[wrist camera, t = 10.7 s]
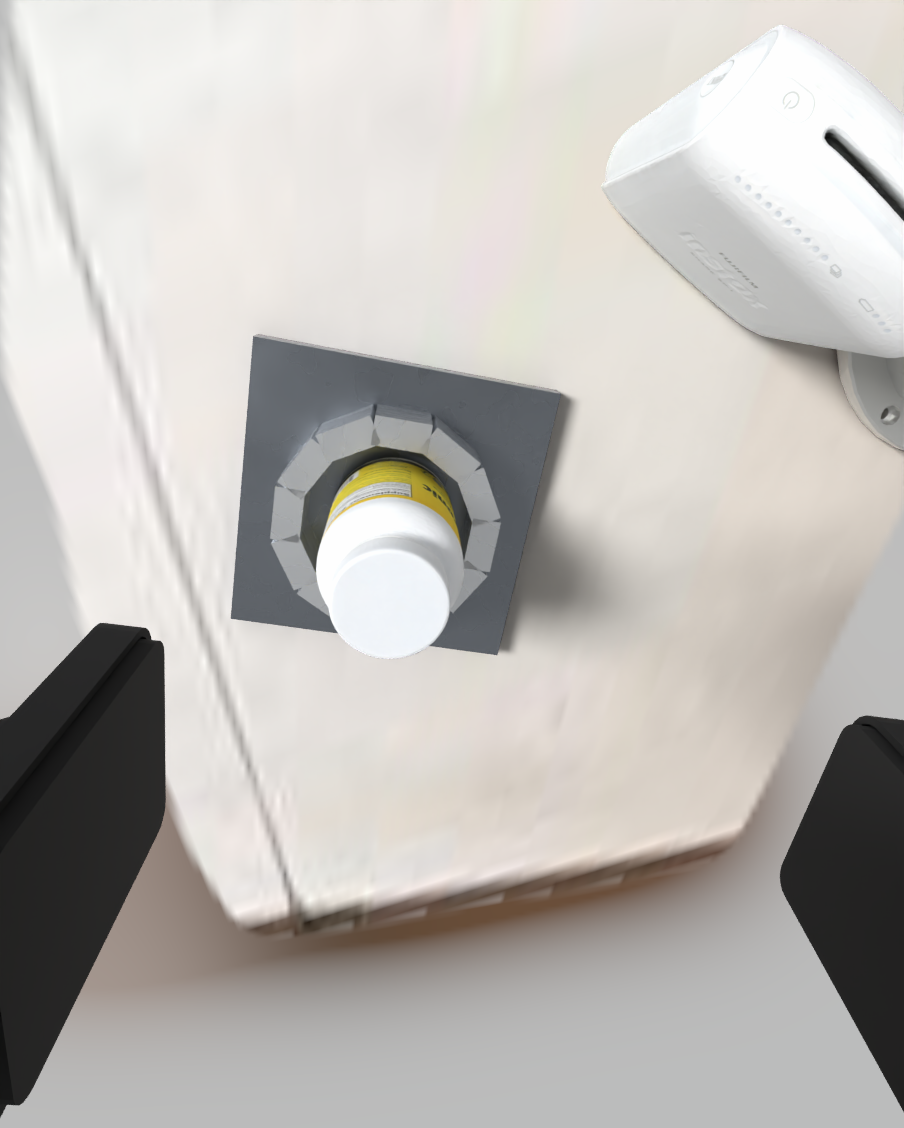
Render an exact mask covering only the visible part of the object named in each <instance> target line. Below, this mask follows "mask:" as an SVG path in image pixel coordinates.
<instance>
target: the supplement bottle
mask: <svg viewBox="0 0 904 1128" xmlns="http://www.w3.org/2000/svg"><path fill="white" fill-rule="evenodd" d="M316 575H317V582H318V586H319V590H320V592H321V595H322V597H323V599H324V601H325V603H326V605H327V606H328V608H329V613H330V618H331V621H332V623H333V625H334V627H335V629H336V631H337V632H338V634H339V635H340V636H341V637H342V638H343V640H344V641H345V642H346V643H348V644H349V645H350V646H351V647H352V648H354V649H356V650H357V651H359V652H361V653H363V654H366V655H368V656H372V657H376V658H382V659H398V658H403V657H407V656H411V655H414V654H416V653H418V652H420V651H422V650H424V649H425V648H427V647H428V646H429V645H431V644H432V643H433V642H434V641H435V640H436V639H437V638H438V637H439V636H440V634H441V633H442V631H443V629H444V628H445V626H446V623H447V621H448V618H449V613H450V609H451V608H452V607H453V605H454V603H455V602H456V600H457V598H458V596H459V593H460V590H461V587H462V583H463V577H464V561H463V553H462V548H461V543H460V538H459V533H458V529H457V525H456V521H455V516H454V512H453V508H452V504H451V500H450V498H449V495H448V493H447V491H446V489H445V487H444V485H443V484H442V482H441V481H440V480H439V478H438V477H437V476H436V475H435V474H434V473H432V472H431V471H430V470H429V469H427V468H426V467H424V466H423V465H421V464H419V463H417V462H414V461H411V460H408V459H403V458H394V457H390V458H380V459H376V460H373V461H370V462H367V463H365V464H363V465H361V466H359V467H358V468H356V469H355V470H354V471H352V472H351V473H350V474H349V475H348V476H347V477H346V478H345V480H344V481H343V482H342V484H341V485H340V487H339V489H338V491H337V493H336V495H335V498H334V501H333V503H332V506H331V510H330V514H329V517H328V520H327V524H326V527H325V531H324V534H323V537H322V540H321V544H320V547H319V551H318V556H317V564H316Z"/></svg>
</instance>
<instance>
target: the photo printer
mask: <svg viewBox="0 0 904 1128" xmlns="http://www.w3.org/2000/svg"><path fill="white" fill-rule="evenodd" d="M601 187H602V190H603V192H604V193H605V195H606V196H607V198H608V199H609V201H610V202H611V203H612V205H613V206H614V207H615V209H616V210H617V211H618V212H619V213H620V214H621V215H622V216H623V218H624V219H625V220H626V221H627V222H628V223H629V224H630V225H631V226H632V227H633V228H634V229H635V230H636V231H637V232H638V233H639V234H640V235H641V236H642V237H643V238H644V239H645V240H646V241H647V242H648V243H649V244H650V245H651V246H652V247H653V248H654V249H655V250H656V251H657V252H658V253H660V254H661V255H662V256H663V257H664V258H665V259H666V260H667V261H668V262H669V263H670V264H671V265H672V266H673V267H674V268H675V269H677V270H678V271H679V272H680V273H681V274H682V275H683V276H684V277H685V278H686V279H687V280H689V281H690V282H691V283H692V284H693V285H694V286H695V287H696V288H698V289H699V290H700V291H701V292H702V293H703V294H704V295H706V296H707V297H708V298H709V299H710V300H711V301H712V302H714V303H715V304H716V305H717V306H718V307H719V308H721V309H722V310H723V311H724V312H725V313H727V314H728V315H729V316H730V317H731V318H732V319H734V320H735V321H737V322H738V323H739V324H741V325H742V326H744V327H745V328H747V329H749V330H751V331H752V332H754V333H756V334H759V335H761V336H764V337H769V338H774V339H780V340H785V341H791V342H797V343H802V344H807V345H814V346H819V347H824V348H831V349H837V350H843V351H849V352H855V353H860V354H866V355H872V356H878V357H884V358H899V357H904V114H903V113H902V112H901V111H900V110H899V109H898V108H897V107H896V106H895V105H894V104H893V103H892V101H890V100H889V99H888V98H887V97H886V96H885V95H884V94H883V93H882V92H881V91H880V90H879V89H878V88H877V87H876V86H875V85H874V84H873V83H872V82H871V81H869V80H868V79H867V78H866V77H865V76H864V75H863V74H861V73H860V72H859V71H858V70H857V69H856V68H854V67H853V66H852V65H851V64H849V63H848V62H847V61H845V60H843V59H842V58H841V57H840V56H838V55H837V54H836V53H834V52H833V51H832V50H830V49H829V48H827V47H825V46H824V45H823V44H821V43H819V42H818V41H816V40H814V39H812V38H811V37H809V36H807V35H805V34H803V33H801V32H799V31H797V30H795V29H793V28H790V27H788V26H786V25H778V26H776V27H774V28H772V29H771V30H770V31H768V32H767V33H765V34H764V35H763V36H761V37H760V38H758V39H757V40H755V41H754V42H752V43H751V44H749V45H748V46H747V47H745V48H744V49H742V50H741V51H739V52H738V53H737V54H735V55H734V56H732V57H731V58H729V59H728V60H726V61H725V62H724V63H722V64H721V65H719V66H718V67H717V68H715V69H714V70H712V71H711V72H709V73H708V74H706V75H705V76H703V77H702V78H700V79H699V80H698V81H696V82H695V83H693V84H692V85H690V86H689V87H687V88H686V89H684V90H683V91H681V92H680V93H679V94H677V95H676V96H674V97H673V98H671V99H670V100H668V101H667V102H666V103H664V104H663V105H662V106H660V107H658V108H657V109H655V110H654V111H653V112H651V113H650V114H649V115H647V116H646V117H644V118H643V119H641V120H640V121H638V122H637V123H636V124H634V125H633V126H631V127H630V128H629V129H628V130H627V131H626V132H625V133H624V134H623V135H622V136H621V137H620V139H619V140H618V141H617V143H616V144H615V146H614V148H613V150H612V152H611V154H610V157H609V160H608V164H607V169H606V181H605V182H604V183H603V184H602V186H601Z"/></svg>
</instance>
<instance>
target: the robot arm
mask: <svg viewBox="0 0 904 1128" xmlns="http://www.w3.org/2000/svg"><path fill="white" fill-rule="evenodd" d="M837 357H838V365H839V374H840V379H841V382H842V385H843V388H844V391H845V394H846V397H847V400H848V402H849V403H850V405H851V407H852V408H853V410H854V411H855V413H856V415H857V416H858V418H859V420H860V421H861V422H862V423H863V424H864V425H865V426H866V427H867V428H868V429H869V430H870V431H871V432H872V433H873V434H874V435H875V436H876V437H878V438H880V439H882V440H883V441H885V442H887V443H888V444H890V445H892V446H893V447H895V448H898V449H901V450H903V451H904V357H899V358H884V357H878V356H872V355H866V354H860V353H855V352H849V351H843V350H837ZM165 801H166V796H165V679H164V646H163V643H162V642H161V641H155V640H151V636H150V633H149V631H148V630H147V629H146V628H141V627H132V626H124V625H116V624H108V623H99V624H98V625H97V626H95V627H94V628H93V629H92V630H91V631H90V632H89V634H88V635H87V636H86V637H85V638H84V639H83V640H82V641H81V642H80V643H79V644H78V645H77V646H76V647H75V648H74V649H73V650H72V652H71V653H70V654H69V655H68V656H67V657H66V658H65V659H64V660H63V661H62V662H61V663H60V664H59V665H58V666H57V667H56V668H55V670H54V671H53V672H52V673H51V674H50V675H49V676H48V677H47V678H46V679H45V680H44V681H43V682H42V683H41V685H39V687H37V689H36V690H35V691H34V692H33V693H32V694H31V695H30V696H29V697H28V698H27V699H26V700H25V701H24V702H23V703H22V705H20V707H19V708H18V709H17V710H16V711H15V712H14V713H13V714H12V715H11V716H10V717H7V718H4V719H1V720H0V1117H1V1115H2V1113H3V1111H4V1109H5V1107H6V1105H20V1104H22V1103H23V1102H24V1101H25V1099H26V1098H27V1096H28V1095H29V1094H30V1092H31V1090H32V1088H33V1087H34V1085H35V1083H36V1081H37V1079H38V1076H39V1075H40V1073H41V1070H42V1068H43V1066H44V1064H45V1062H46V1060H47V1058H48V1056H49V1054H50V1052H51V1050H52V1048H53V1046H54V1044H55V1042H56V1040H57V1038H58V1036H59V1034H60V1032H61V1030H62V1027H63V1026H64V1024H65V1021H66V1020H67V1018H68V1015H69V1013H70V1011H71V1009H72V1007H73V1005H74V1003H75V1001H76V999H77V997H78V995H79V993H80V991H81V989H82V987H83V985H84V983H85V981H86V979H87V977H88V975H89V973H90V971H91V969H92V967H93V965H94V962H95V960H96V958H97V956H98V954H99V952H100V950H101V948H102V946H103V944H104V942H105V940H106V938H107V936H108V934H109V932H110V930H111V928H112V926H113V923H114V922H115V920H116V918H117V916H118V914H119V912H120V910H121V908H122V905H123V903H124V901H125V899H126V897H127V895H128V893H129V891H130V889H131V887H132V885H133V883H134V881H135V879H136V877H137V875H138V873H139V871H140V868H141V867H142V864H143V863H144V861H145V859H146V857H147V855H148V852H149V850H150V848H151V846H152V844H153V842H154V840H155V838H156V836H157V834H158V832H159V829H160V827H161V824H162V821H163V816H164V811H165ZM780 882H781V887H782V891H783V893H784V895H785V897H786V899H787V901H788V903H789V905H790V906H791V908H792V910H793V912H794V914H795V915H796V917H797V919H798V921H799V923H800V924H801V926H802V928H803V930H804V932H805V933H806V935H807V937H808V939H809V941H810V943H811V944H812V946H813V948H814V950H815V951H816V953H817V955H818V957H819V959H820V961H821V963H822V964H823V966H824V968H825V970H826V972H827V973H828V975H829V977H830V979H831V981H832V983H833V984H834V986H835V988H836V990H837V992H838V993H839V995H840V997H841V999H842V1000H843V1002H844V1004H845V1006H846V1008H847V1010H848V1011H849V1013H850V1015H851V1017H852V1019H853V1020H854V1022H855V1024H856V1026H857V1028H858V1030H859V1031H860V1033H861V1035H862V1037H863V1039H864V1040H865V1042H866V1044H867V1046H868V1048H869V1050H870V1051H871V1053H872V1055H873V1057H874V1058H875V1061H876V1062H877V1064H878V1066H879V1068H880V1070H881V1071H882V1073H883V1075H884V1077H885V1079H886V1080H887V1082H888V1084H889V1086H890V1088H891V1090H892V1091H893V1093H894V1095H895V1097H896V1098H897V1100H898V1102H899V1104H900V1106H901V1108H902V1109H903V1111H904V720H898V719H889V718H881V717H873V716H863V717H859V718H858V719H857V720H856V721H855V722H854V723H853V724H852V725H848V726H846V727H845V728H844V729H843V731H842V732H841V734H840V736H839V738H838V740H837V743H836V745H835V747H834V749H833V752H832V754H831V756H830V759H829V761H828V763H827V765H826V767H825V770H824V772H823V774H822V776H821V779H820V781H819V783H818V785H817V788H816V790H815V792H814V794H813V797H812V799H811V801H810V803H809V805H808V808H807V810H806V812H805V814H804V817H803V819H802V821H801V823H800V826H799V828H798V830H797V832H796V835H795V837H794V839H793V841H792V844H791V846H790V848H789V850H788V852H787V855H786V857H785V859H784V861H783V864H782V867H781V871H780Z"/></svg>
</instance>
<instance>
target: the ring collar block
mask: <svg viewBox="0 0 904 1128" xmlns="http://www.w3.org/2000/svg"><path fill="white" fill-rule="evenodd" d="M560 396H561V394H560V393H559V392H558V391H557V390H552V389H547V388H542V387H536V386H531V385H526V384H520V383H515V382H510V381H504V380H499V379H494V378H488V377H483V376H478V375H472V374H467V373H462V372H456V371H451V370H446V369H440V368H435V367H430V366H425V365H419V364H414V363H409V362H403V361H398V360H393V359H387V358H382V357H377V356H371V355H366V354H361V353H355V352H350V351H345V350H339V349H334V348H329V347H323V346H318V345H313V344H308V343H302V342H297V341H292V340H286V339H281V338H276V337H270V336H265V335H260V334H257V335H255V336H253V346H252V359H251V371H250V384H249V396H248V409H247V422H246V434H245V447H244V460H243V472H242V485H241V497H240V510H239V523H238V535H237V548H236V561H235V573H234V586H233V598H232V611H231V619H238V620H245V621H252V622H260V623H267V624H274V625H281V626H289V627H296V628H303V629H311V630H318V631H325V632H333V633H338V632H337V631H336V629H335V627H334V625H333V623H332V621H331V618H330V613H329V608H328V606H327V605H326V603H325V601H324V599H323V597H322V595H321V592H320V590H319V586H318V582H317V575H316V564H317V556H318V551H319V547H320V544H321V540H322V537H323V534H324V531H325V527H326V524H327V520H328V517H329V514H330V510H331V506H332V503H333V501H334V498H335V495H336V493H337V491H338V489H339V487H340V485H341V484H342V482H343V481H344V480H345V478H346V477H347V476H348V475H349V474H350V473H351V472H352V471H354V470H355V469H356V468H358V467H359V466H361V465H363V464H365V463H367V462H370V461H373V460H376V459H380V458H390V457H394V458H403V459H408V460H411V461H414V462H417V463H419V464H421V465H423V466H424V467H426V468H427V469H429V470H430V471H431V472H432V473H434V474H435V475H436V476H437V477H438V478H439V480H440V481H441V482H442V484H443V485H444V487H445V489H446V491H447V493H448V495H449V498H450V500H451V504H452V508H453V512H454V516H455V521H456V525H457V529H458V533H459V538H460V543H461V548H462V553H463V561H464V577H463V583H462V587H461V590H460V593H459V596H458V598H457V600H456V602H455V603H454V605H453V607H452V608H451V609H450V613H449V618H448V621H447V623H446V626H445V628H444V629H443V631H442V633H441V634H440V636H439V637H438V638H437V639H436V640H435V641H434V642H433V643H432V644H431V645H429V646H435V647H442V648H449V649H457V650H464V651H471V652H478V653H486V654H493V655H497V654H498V650H499V646H500V642H501V638H502V634H503V630H504V626H505V622H506V617H507V613H508V609H509V605H510V601H511V597H512V593H513V589H514V585H515V581H516V576H517V572H518V568H519V564H520V560H521V556H522V552H523V548H524V544H525V540H526V535H527V531H528V527H529V523H530V519H531V515H532V511H533V507H534V503H535V498H536V494H537V490H538V486H539V482H540V478H541V474H542V470H543V466H544V462H545V457H546V453H547V449H548V445H549V441H550V437H551V433H552V429H553V425H554V421H555V416H556V412H557V408H558V404H559V400H560Z"/></svg>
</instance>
